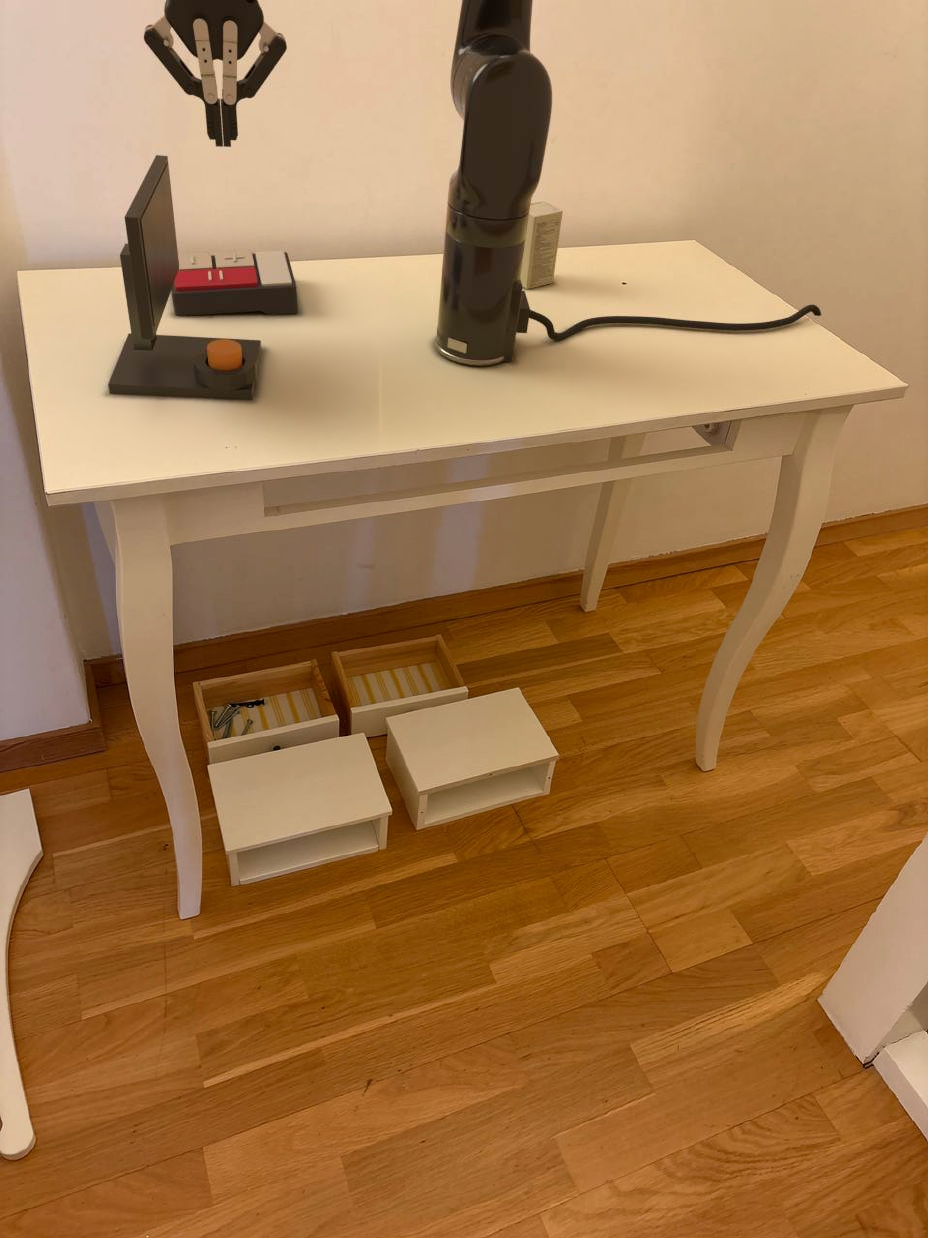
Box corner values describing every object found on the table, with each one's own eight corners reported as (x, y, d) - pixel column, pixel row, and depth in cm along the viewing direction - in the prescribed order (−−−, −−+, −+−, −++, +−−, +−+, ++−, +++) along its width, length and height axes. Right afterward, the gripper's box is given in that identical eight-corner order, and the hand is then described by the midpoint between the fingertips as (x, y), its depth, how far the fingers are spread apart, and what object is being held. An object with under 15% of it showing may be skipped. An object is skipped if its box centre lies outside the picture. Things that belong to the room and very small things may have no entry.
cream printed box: (534, 272, 138) (545, 200, 131) (553, 283, 135) (565, 211, 129) (506, 277, 135) (515, 204, 129) (525, 289, 133) (535, 215, 126)
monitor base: (263, 349, 113) (262, 325, 111) (254, 401, 104) (253, 376, 102) (129, 342, 111) (126, 318, 109) (109, 395, 102) (104, 369, 100)
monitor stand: (156, 337, 106) (144, 244, 99) (152, 350, 104) (139, 255, 97) (138, 336, 106) (125, 243, 99) (133, 349, 104) (119, 254, 97)
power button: (243, 357, 106) (242, 339, 104) (240, 372, 103) (239, 355, 102) (210, 355, 105) (209, 338, 104) (206, 371, 102) (204, 353, 101)
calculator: (168, 251, 122) (286, 245, 125) (173, 283, 125) (289, 277, 128) (170, 287, 114) (296, 280, 117) (175, 321, 117) (298, 313, 120)
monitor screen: (180, 267, 109) (168, 155, 101) (154, 340, 95) (138, 217, 87) (162, 266, 108) (149, 154, 100) (134, 339, 95) (116, 216, 87)
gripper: (122, -79, 76) (149, 154, 87) (291, -65, 78) (296, 159, 90) (127, -92, 81) (152, 129, 93) (285, -78, 84) (291, 135, 95)
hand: (223, 143), depth 91 cm, fingers closed
